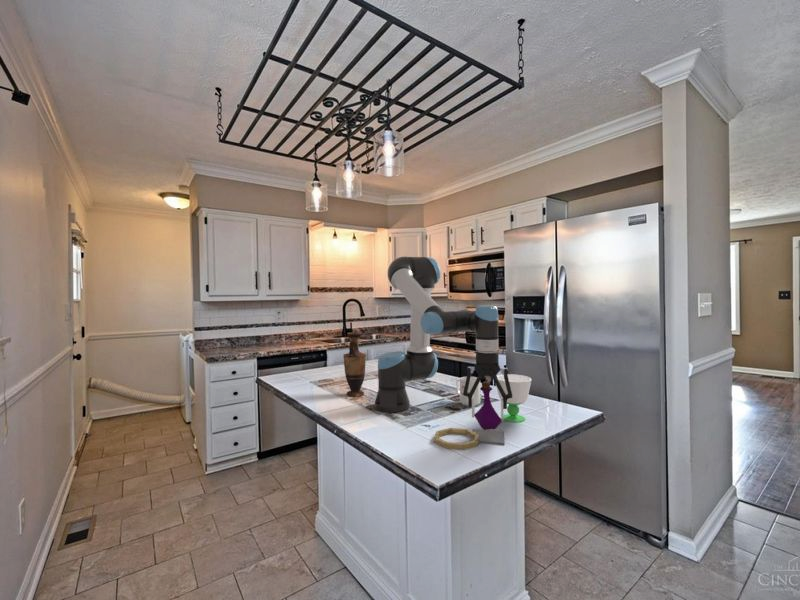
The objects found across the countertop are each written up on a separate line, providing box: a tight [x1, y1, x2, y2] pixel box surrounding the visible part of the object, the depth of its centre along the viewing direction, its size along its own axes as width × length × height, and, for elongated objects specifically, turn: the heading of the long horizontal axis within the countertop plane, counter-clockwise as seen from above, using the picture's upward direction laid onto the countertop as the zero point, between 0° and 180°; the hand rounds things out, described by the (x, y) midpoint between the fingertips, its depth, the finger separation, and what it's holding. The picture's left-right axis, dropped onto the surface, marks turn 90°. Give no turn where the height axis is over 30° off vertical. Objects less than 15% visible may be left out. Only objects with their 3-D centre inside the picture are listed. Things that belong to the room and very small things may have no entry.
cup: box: [496, 373, 532, 423], centre depth 153 cm, size 14×14×16 cm
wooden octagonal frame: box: [433, 427, 479, 451], centre depth 132 cm, size 14×14×2 cm
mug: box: [455, 376, 481, 407], centre depth 174 cm, size 12×9×11 cm
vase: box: [343, 331, 367, 398], centre depth 190 cm, size 11×11×30 cm
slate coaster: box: [469, 428, 506, 446], centre depth 134 cm, size 11×11×1 cm
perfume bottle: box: [474, 376, 503, 430], centre depth 134 cm, size 8×8×18 cm
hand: (487, 417), depth 134 cm, fingers closed on perfume bottle, 9 cm apart
